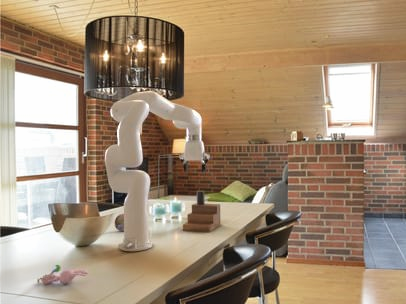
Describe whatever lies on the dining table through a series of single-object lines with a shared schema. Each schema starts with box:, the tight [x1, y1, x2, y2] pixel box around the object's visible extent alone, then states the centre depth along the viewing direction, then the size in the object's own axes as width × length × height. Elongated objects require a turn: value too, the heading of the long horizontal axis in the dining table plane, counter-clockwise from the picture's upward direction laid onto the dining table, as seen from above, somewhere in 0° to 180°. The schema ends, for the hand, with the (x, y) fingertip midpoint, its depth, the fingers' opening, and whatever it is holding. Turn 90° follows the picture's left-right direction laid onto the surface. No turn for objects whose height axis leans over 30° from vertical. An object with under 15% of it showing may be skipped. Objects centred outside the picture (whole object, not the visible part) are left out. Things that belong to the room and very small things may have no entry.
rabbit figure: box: [36, 264, 89, 285], centre depth 104 cm, size 6×6×15 cm
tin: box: [114, 213, 124, 232], centre depth 175 cm, size 15×3×8 cm, turn 143°
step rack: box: [182, 202, 222, 233], centre depth 177 cm, size 16×14×11 cm
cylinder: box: [196, 190, 206, 205], centre depth 183 cm, size 4×4×7 cm
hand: (194, 171), depth 180 cm, fingers open, 9 cm apart
